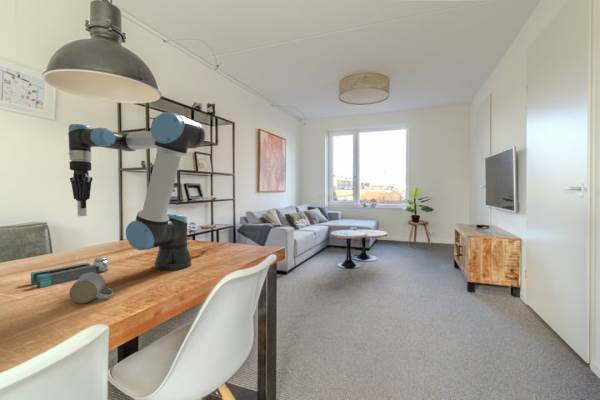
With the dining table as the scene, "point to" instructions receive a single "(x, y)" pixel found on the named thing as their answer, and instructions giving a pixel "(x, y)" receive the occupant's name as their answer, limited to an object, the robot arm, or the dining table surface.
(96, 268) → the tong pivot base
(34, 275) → the tong swing arm
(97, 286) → the ceramic mug
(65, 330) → the dining table surface
